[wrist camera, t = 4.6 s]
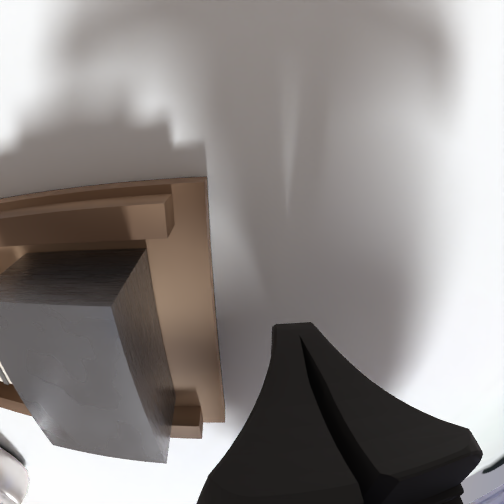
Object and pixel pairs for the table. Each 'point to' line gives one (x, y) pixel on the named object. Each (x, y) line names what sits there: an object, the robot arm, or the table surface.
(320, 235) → the table surface
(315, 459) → the robot arm
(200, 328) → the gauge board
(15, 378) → the grey rectangular block
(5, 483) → the plastic bottle
